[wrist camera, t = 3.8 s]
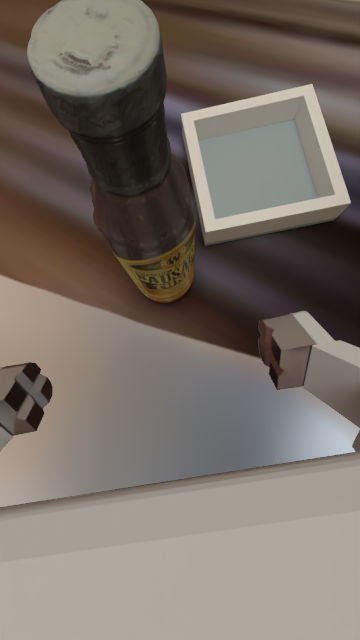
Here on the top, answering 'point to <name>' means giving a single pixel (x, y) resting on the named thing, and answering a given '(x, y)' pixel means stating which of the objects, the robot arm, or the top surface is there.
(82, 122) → the sauce bottle
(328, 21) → the top surface
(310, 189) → the tray
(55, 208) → the top surface
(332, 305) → the top surface
